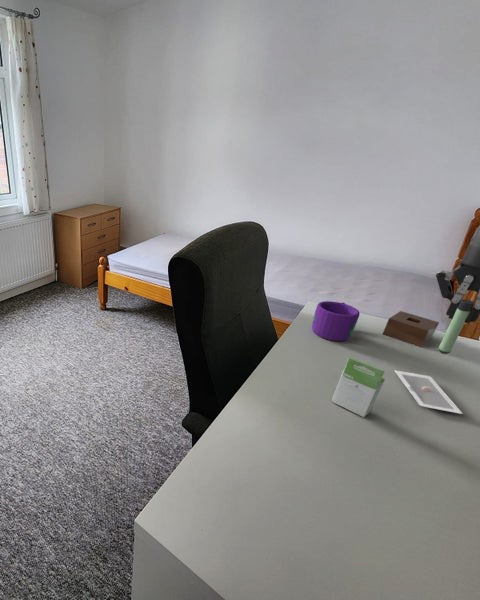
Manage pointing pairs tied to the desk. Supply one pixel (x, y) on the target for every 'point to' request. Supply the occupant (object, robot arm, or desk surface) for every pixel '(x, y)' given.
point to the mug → (334, 320)
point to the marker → (455, 326)
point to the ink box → (358, 387)
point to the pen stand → (410, 328)
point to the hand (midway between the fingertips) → (459, 319)
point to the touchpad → (427, 392)
